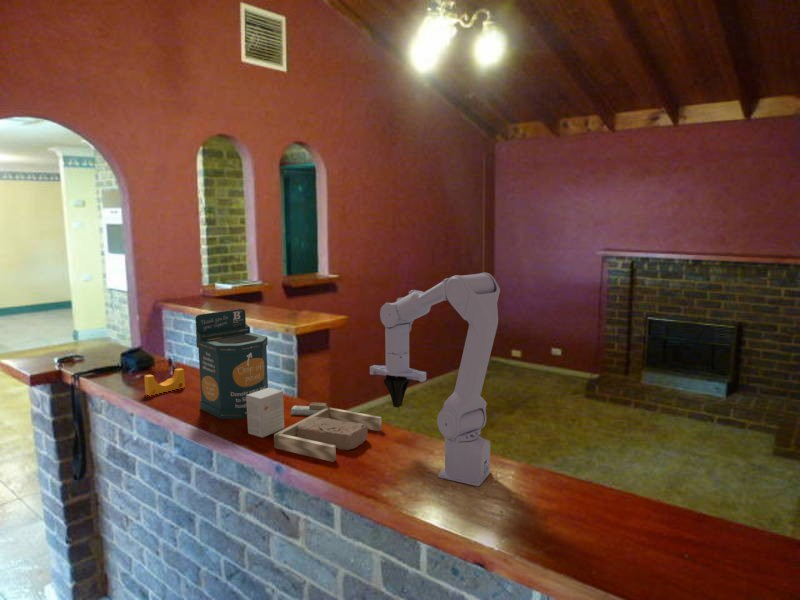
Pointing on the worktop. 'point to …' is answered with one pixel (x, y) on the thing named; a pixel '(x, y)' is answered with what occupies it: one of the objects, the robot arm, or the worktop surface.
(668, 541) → the worktop surface
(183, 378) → the pipe clamp
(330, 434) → the brick
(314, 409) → the scraper bar
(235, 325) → the donation box
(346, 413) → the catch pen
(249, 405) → the small box
